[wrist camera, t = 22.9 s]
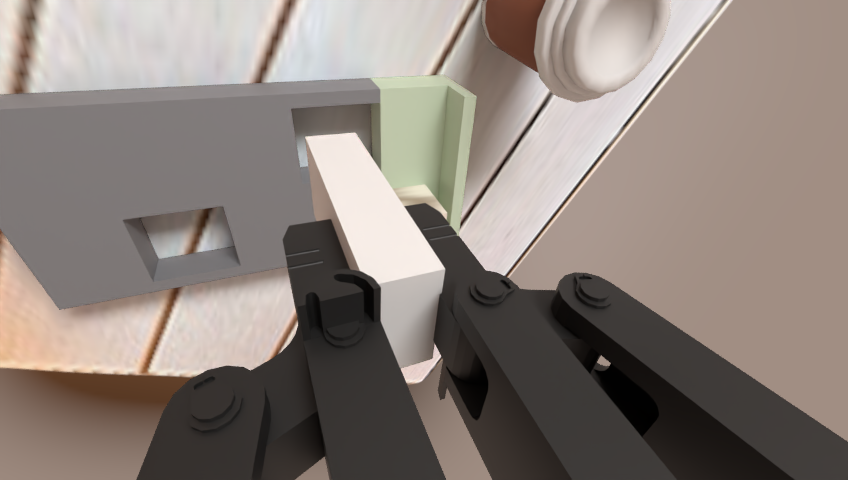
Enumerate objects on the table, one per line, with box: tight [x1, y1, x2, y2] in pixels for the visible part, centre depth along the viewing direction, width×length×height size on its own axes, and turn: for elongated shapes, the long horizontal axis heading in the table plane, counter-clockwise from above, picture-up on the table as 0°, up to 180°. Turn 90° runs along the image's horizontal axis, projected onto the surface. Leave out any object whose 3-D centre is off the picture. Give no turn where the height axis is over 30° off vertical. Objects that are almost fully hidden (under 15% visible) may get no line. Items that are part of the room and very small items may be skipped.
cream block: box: [393, 184, 447, 220], centre depth 34 cm, size 5×5×5 cm
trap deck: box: [0, 75, 477, 310], centre depth 30 cm, size 32×15×6 cm, turn 87°
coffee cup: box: [481, 0, 671, 102], centre depth 27 cm, size 9×9×12 cm
